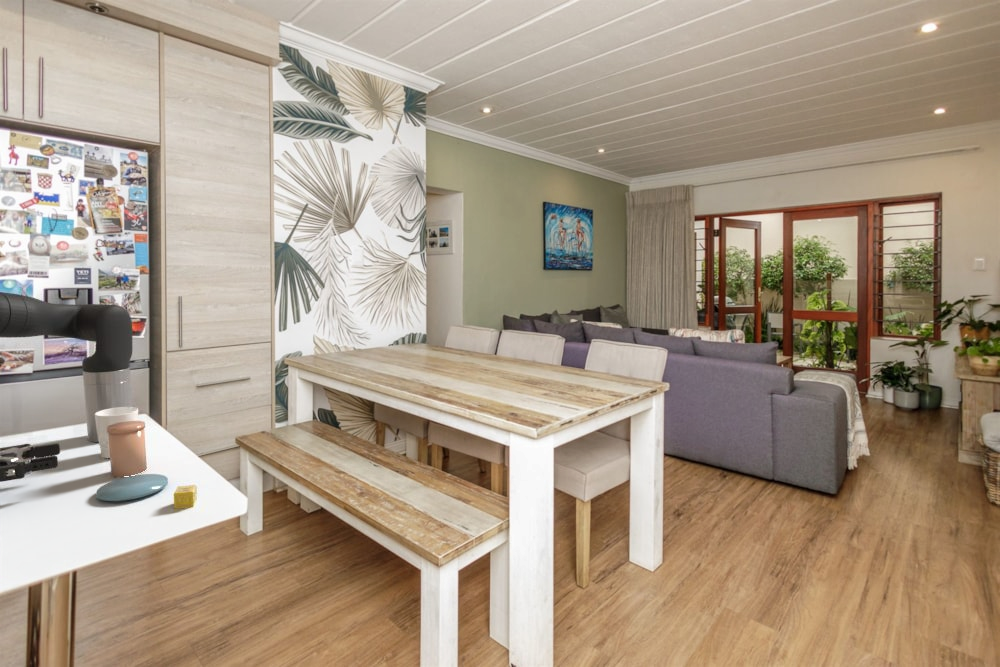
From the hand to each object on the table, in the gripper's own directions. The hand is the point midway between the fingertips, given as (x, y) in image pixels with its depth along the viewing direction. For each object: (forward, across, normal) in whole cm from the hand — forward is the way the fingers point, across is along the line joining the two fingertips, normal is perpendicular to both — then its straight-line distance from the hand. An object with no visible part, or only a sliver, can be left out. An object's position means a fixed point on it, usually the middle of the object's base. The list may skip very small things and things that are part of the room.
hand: (58, 454), depth 98 cm
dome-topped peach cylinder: (+11, 0, +6) cm, 12 cm away
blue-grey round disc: (+11, -12, +6) cm, 17 cm away
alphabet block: (+18, -24, +6) cm, 31 cm away
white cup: (+10, +14, +6) cm, 18 cm away
